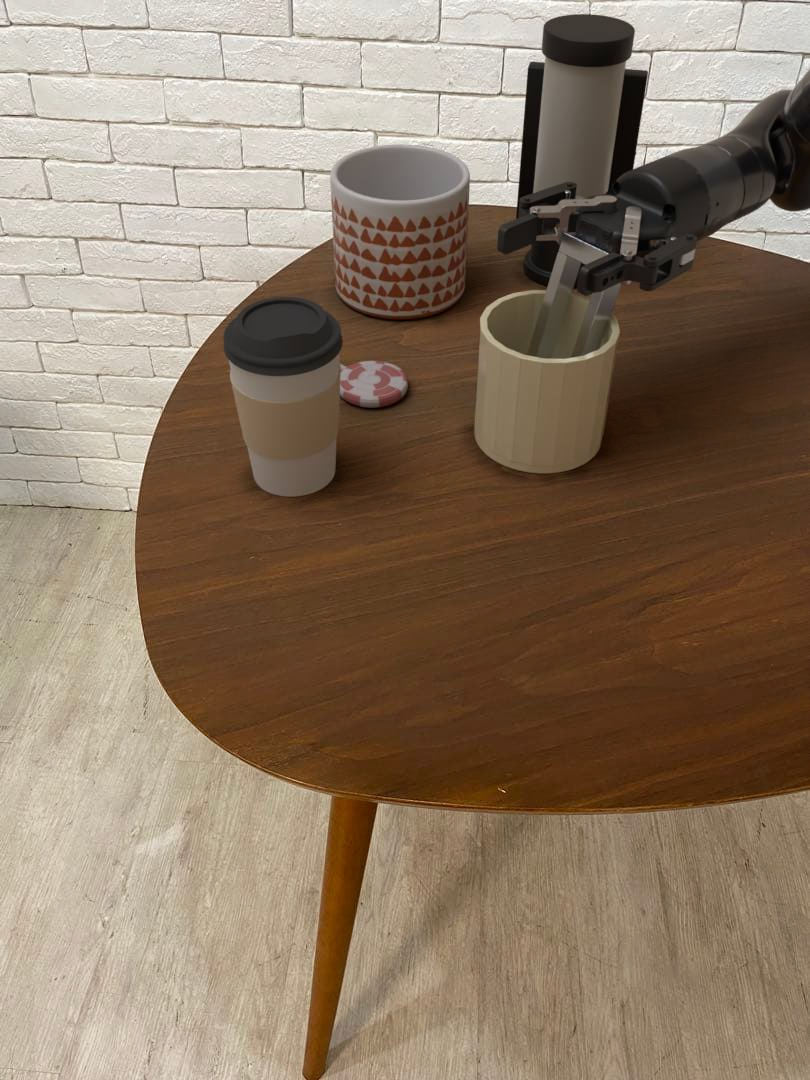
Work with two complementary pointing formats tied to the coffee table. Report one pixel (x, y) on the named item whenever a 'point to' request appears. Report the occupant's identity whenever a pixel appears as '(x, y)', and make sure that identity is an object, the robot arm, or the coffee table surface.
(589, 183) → the light fixture
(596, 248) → the tongs
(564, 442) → the crock
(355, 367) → the lollipop
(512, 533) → the coffee table surface
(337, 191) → the planter
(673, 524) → the coffee table surface
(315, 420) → the coffee cup
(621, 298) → the coffee table surface
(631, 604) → the coffee table surface
